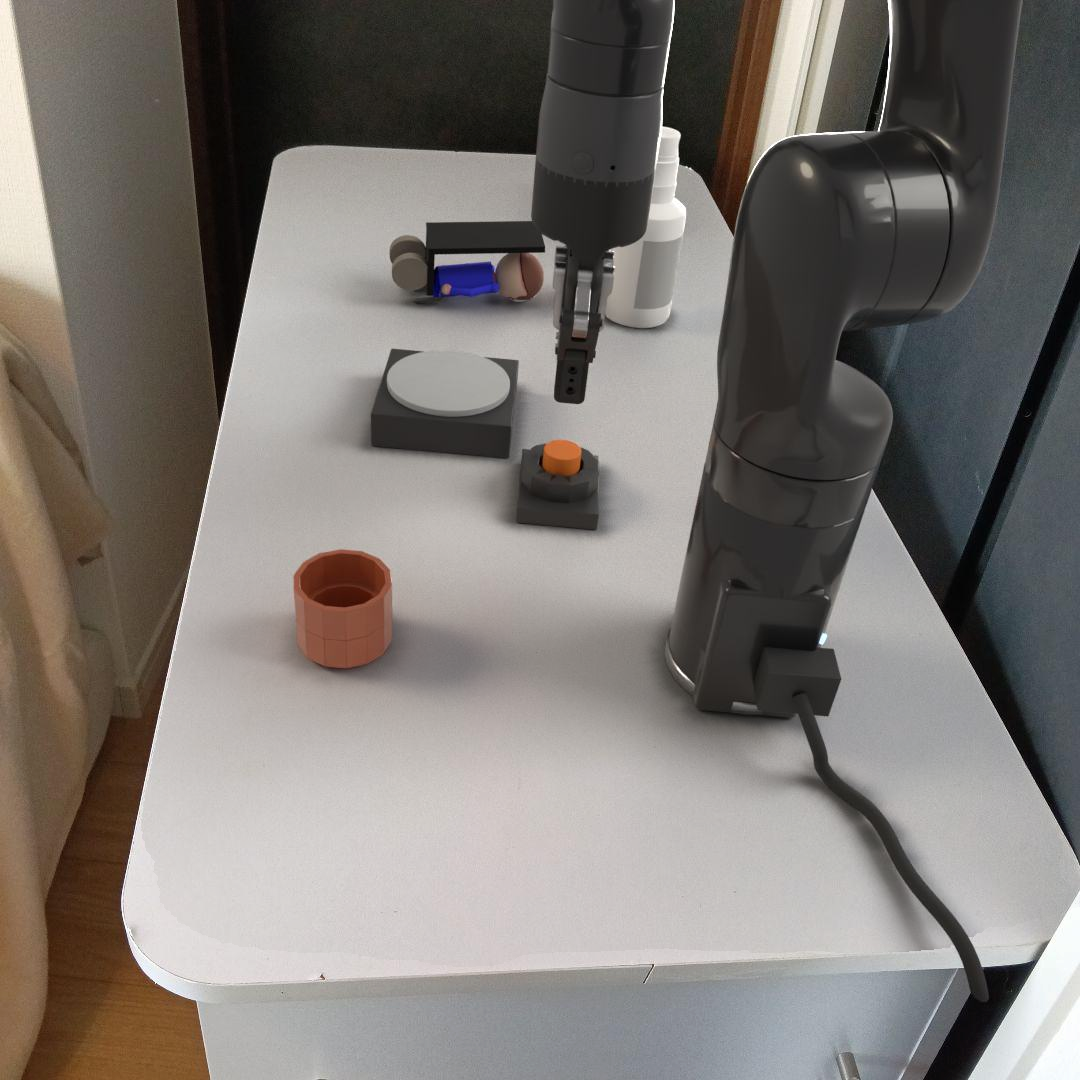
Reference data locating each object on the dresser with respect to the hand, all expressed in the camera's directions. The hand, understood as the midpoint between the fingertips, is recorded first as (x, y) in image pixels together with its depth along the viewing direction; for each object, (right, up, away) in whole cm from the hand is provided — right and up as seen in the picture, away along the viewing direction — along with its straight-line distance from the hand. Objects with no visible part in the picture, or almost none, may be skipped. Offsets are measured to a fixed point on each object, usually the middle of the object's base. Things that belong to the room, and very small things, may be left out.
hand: (568, 397), depth 78 cm
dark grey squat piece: (-1, -7, +5) cm, 9 cm away
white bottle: (+8, +12, +32) cm, 35 cm away
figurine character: (-9, +14, +31) cm, 35 cm away
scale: (-10, 0, +13) cm, 16 cm away
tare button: (-1, -5, +3) cm, 6 cm away
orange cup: (-14, -17, -10) cm, 24 cm away
